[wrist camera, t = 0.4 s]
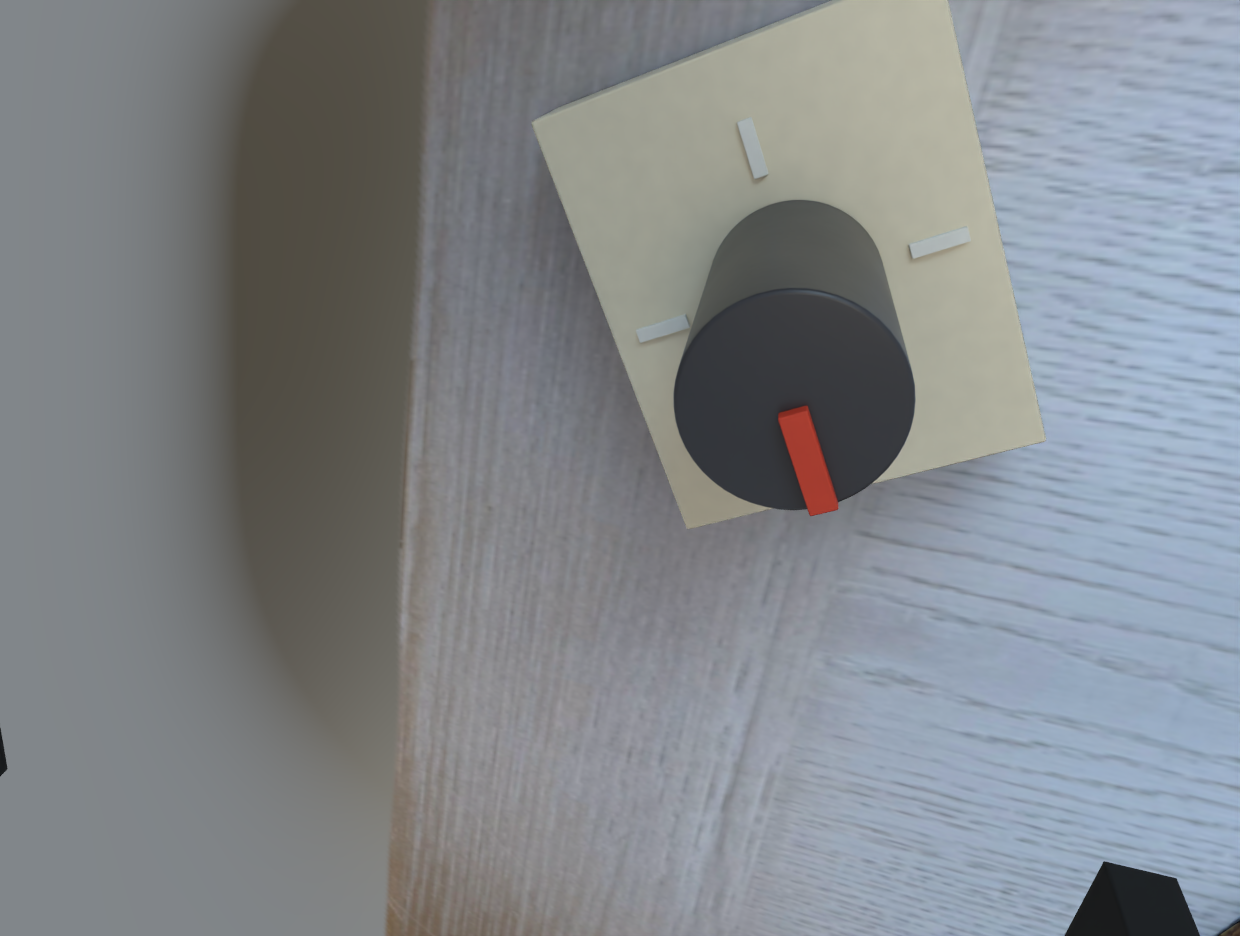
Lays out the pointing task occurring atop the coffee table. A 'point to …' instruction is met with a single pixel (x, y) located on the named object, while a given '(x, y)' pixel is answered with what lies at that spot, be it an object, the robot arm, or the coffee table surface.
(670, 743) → the coffee table surface
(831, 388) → the dial
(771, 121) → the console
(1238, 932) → the book
